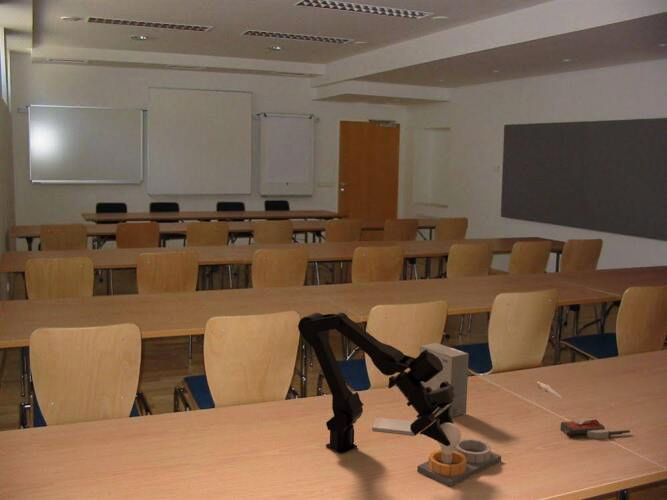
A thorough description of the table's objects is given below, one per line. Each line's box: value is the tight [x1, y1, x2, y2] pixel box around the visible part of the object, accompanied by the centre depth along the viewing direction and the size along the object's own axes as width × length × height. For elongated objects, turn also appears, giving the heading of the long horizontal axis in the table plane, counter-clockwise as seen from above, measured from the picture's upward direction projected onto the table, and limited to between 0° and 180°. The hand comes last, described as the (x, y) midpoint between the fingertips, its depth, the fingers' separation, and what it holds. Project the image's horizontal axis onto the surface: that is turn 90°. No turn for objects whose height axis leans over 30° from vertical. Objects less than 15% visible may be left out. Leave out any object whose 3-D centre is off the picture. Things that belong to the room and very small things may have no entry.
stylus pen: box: [537, 380, 564, 400], centre depth 241 cm, size 15×3×2 cm, turn 18°
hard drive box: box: [419, 342, 470, 418], centre depth 223 cm, size 16×8×20 cm, turn 34°
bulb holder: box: [417, 438, 502, 487], centre depth 183 cm, size 22×11×4 cm, turn 133°
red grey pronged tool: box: [559, 416, 631, 440], centre depth 207 cm, size 9×4×20 cm
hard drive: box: [371, 417, 415, 436], centre depth 208 cm, size 2×8×12 cm
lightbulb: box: [437, 423, 461, 464], centre depth 179 cm, size 6×6×11 cm
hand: (453, 440), depth 178 cm, fingers closed on lightbulb, 6 cm apart
